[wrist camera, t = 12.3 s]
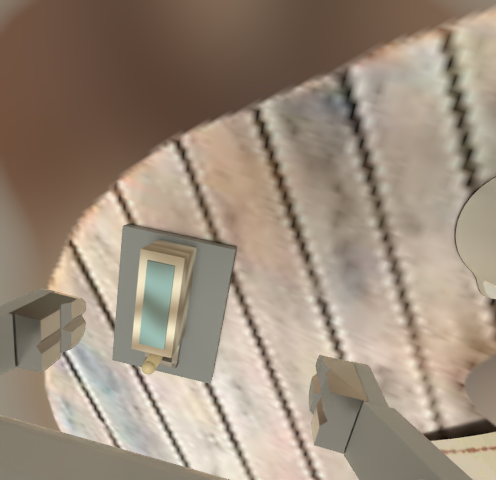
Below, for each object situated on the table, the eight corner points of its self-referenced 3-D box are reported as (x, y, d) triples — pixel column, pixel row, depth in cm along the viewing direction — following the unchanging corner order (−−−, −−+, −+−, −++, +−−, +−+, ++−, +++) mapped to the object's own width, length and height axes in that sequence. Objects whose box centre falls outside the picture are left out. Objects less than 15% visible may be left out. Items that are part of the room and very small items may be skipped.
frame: (158, 239, 36) (139, 249, 31) (197, 247, 36) (184, 258, 31) (145, 356, 41) (127, 380, 36) (179, 364, 41) (166, 390, 36)
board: (236, 247, 37) (227, 263, 30) (212, 376, 42) (199, 416, 35) (128, 224, 38) (94, 234, 31) (117, 353, 43) (86, 388, 36)
